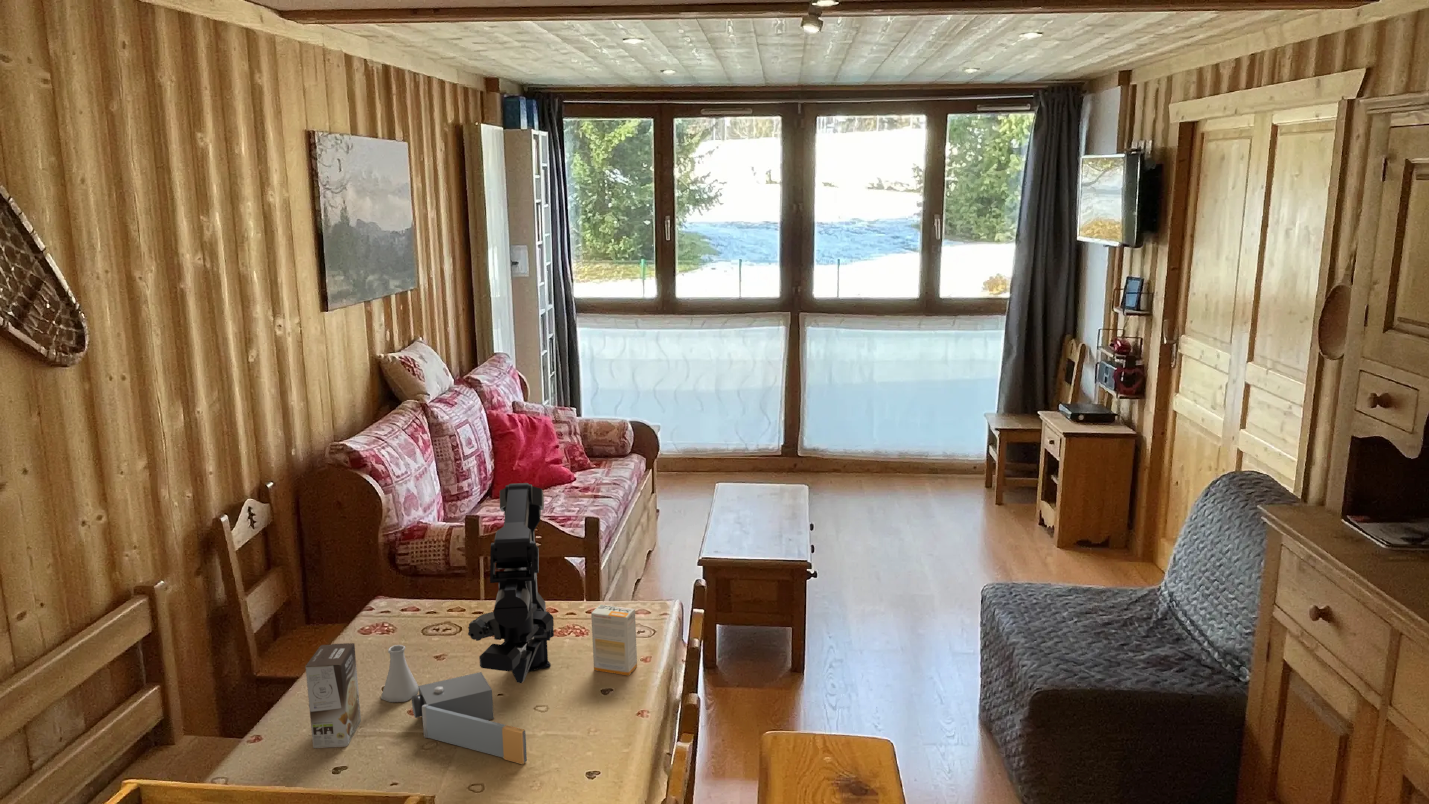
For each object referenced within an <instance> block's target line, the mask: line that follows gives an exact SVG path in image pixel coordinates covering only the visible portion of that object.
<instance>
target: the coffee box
mask: <svg viewBox="0 0 1429 804" xmlns="http://www.w3.org/2000/svg"><path fill="white" fill-rule="evenodd" d="M304 668H305V674H306V676H305V677H306V686H307V695H308V696H307V697H308V708H309V718H310V727H311V738H312V748H313V749H323V748H325V749H326V748H343V747H345V748H346V747H348V746H349V744H350V742H351V740H352V739H353V736H354V735H355V733H356V731H357V729H358V727H359V726H360V724H361V721H362V719H361V706H360V695H359V693H360V692H359V683H358V671H357V669H358V668H357V659H356V648H355V643H353V642H350V643H349V642H348V643H331V644H321V645H320V646H319V647H318V649H317V650H316V651H315V652H314V654H313V655H312V656H311V657H310V659H309V661H308V662H307V663H306V665H305V667H304Z"/></svg>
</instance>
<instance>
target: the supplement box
mask: <svg viewBox="0 0 1429 804" xmlns="http://www.w3.org/2000/svg"><path fill="white" fill-rule="evenodd" d="M590 614H591V615H590V617H591V633H592V634H591V637H592V655H593V656H592V657H593V671H595V670H597V671H596V672H603V673H608V674H609V673H610V674H615V673H616V674H617V675H622V676H627V677H628V676H630V675H631V674H632V673H633V672H634V670H635V669H636V668H637V667H638V652H637V648H638V647H637V628H636V627H637V624H636V608H630V607H621V606H616V605H615V606H614V605H606V604H600V605H598V606H597V607H596V608H595V609H594V610H593V611H591V613H590ZM631 672H632V673H631ZM630 673H631V674H630Z"/></svg>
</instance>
